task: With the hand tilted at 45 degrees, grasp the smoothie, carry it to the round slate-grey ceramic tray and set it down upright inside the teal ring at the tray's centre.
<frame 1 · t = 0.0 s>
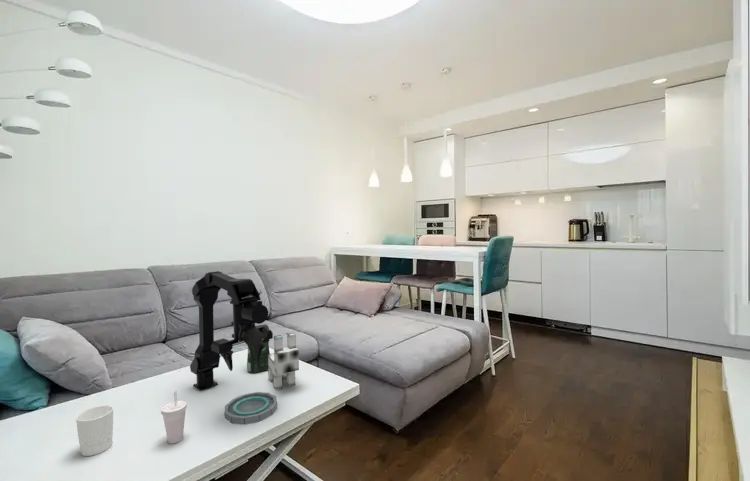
hand: (244, 365, 114), 15 cm above the table, tool pointing down, fingers open, 9 cm apart
smoothie: (175, 440, 99), on the table
white cup: (97, 449, 95), on the table
toy llama: (282, 383, 133), on the table
coffee jar: (259, 369, 146), on the table
tray: (251, 410, 114), on the table
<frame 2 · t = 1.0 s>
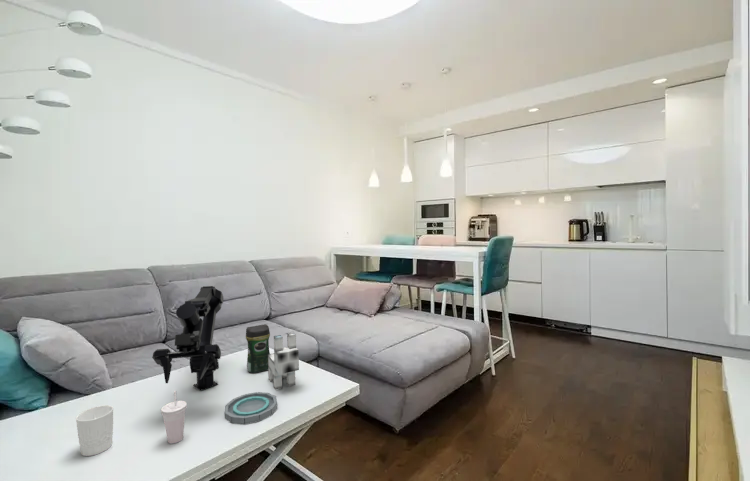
hand: (183, 381, 106), 13 cm above the table, tool tilted 45°, fingers open, 9 cm apart
nothing on the table moved.
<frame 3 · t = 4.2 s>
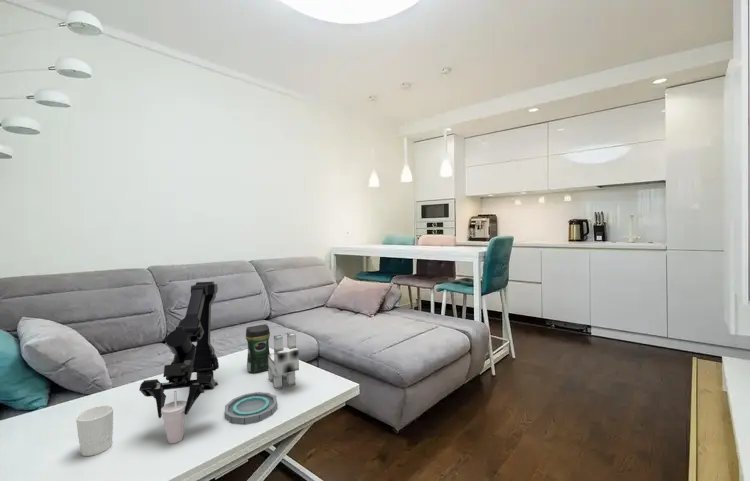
hand: (172, 416, 97), 8 cm above the table, tool tilted 45°, fingers closed on smoothie, 6 cm apart
smoothie: (175, 440, 99), on the table, touching gripper
everything else where it was.
when the fingers open (10 cm above the table, at t = 8.9 s): smoothie drops 1 cm, resting on tray.
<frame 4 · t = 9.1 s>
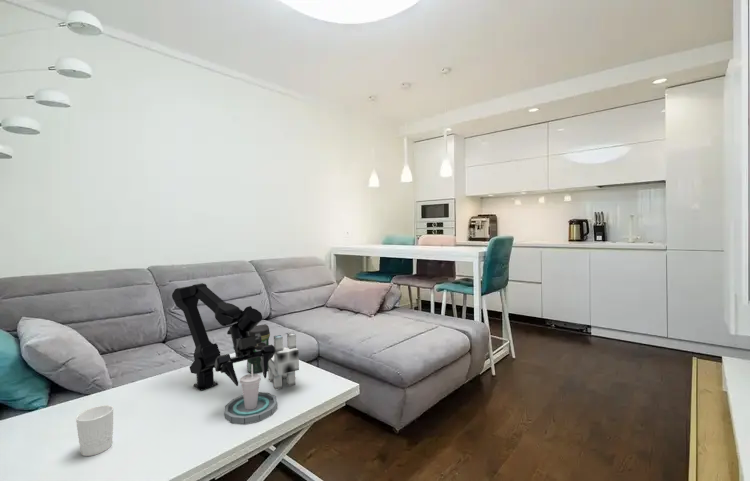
hand: (251, 381, 112), 10 cm above the table, tool tilted 45°, fingers open, 9 cm apart
smoothie: (251, 407, 114), point 1 cm above the table, touching tray
everything else where it was.
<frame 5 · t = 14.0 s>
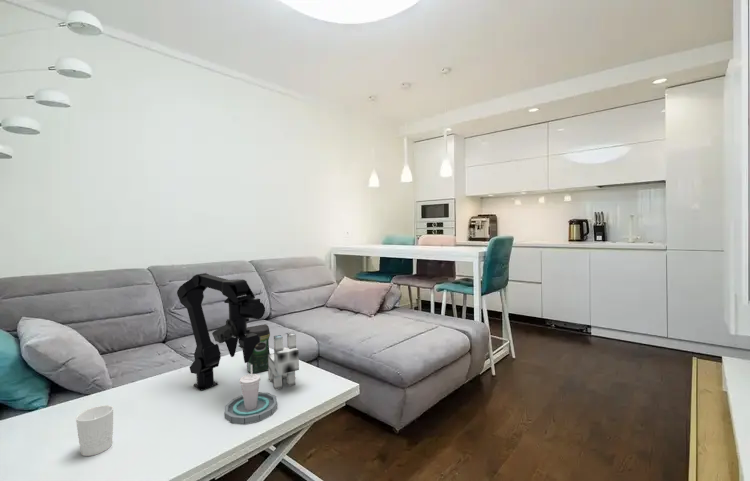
hand: (239, 359, 123), 13 cm above the table, tool pointing down, fingers open, 9 cm apart
nothing on the table moved.
at the end: smoothie 0.1 cm off-centre on the tray, point 0.8 cm above the tray's base; smoothie tilted 0°; the gripper is holding nothing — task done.
